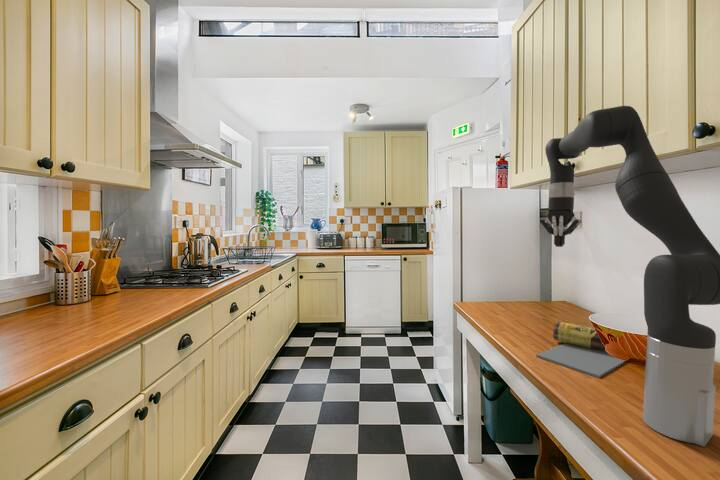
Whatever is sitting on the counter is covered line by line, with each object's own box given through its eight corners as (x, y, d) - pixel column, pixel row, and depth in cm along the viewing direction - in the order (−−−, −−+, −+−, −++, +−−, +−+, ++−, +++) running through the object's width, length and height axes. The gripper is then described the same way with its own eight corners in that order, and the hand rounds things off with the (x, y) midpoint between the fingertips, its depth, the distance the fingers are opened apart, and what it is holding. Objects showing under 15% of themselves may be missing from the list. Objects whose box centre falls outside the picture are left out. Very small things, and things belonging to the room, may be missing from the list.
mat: (631, 358, 97) (631, 356, 97) (598, 377, 84) (599, 375, 84) (571, 342, 110) (571, 340, 110) (536, 356, 98) (536, 354, 98)
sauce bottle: (557, 320, 113) (632, 333, 100) (555, 338, 112) (631, 354, 99) (553, 321, 108) (632, 336, 95) (551, 341, 107) (630, 358, 95)
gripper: (536, 197, 119) (534, 245, 120) (577, 194, 108) (574, 248, 109) (547, 198, 123) (545, 245, 124) (587, 196, 112) (585, 247, 113)
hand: (559, 246), depth 116 cm, fingers closed
